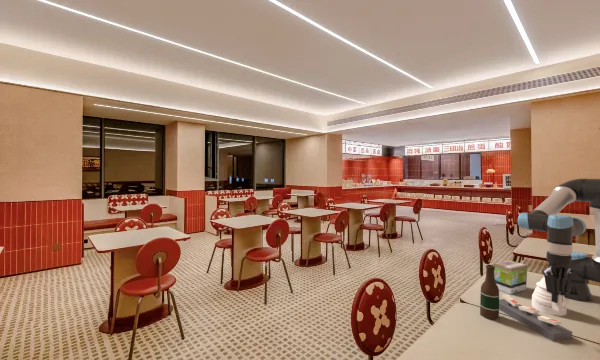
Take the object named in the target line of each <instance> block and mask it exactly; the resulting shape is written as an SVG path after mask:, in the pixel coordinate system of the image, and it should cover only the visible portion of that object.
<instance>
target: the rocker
mask: <svg viewBox="0 0 600 360" xmlns="http://www.w3.org/2000/svg"><path fill="white" fill-rule="evenodd" d="M501 299H505V300H506V301H508V302H509V303H510V304H511V305H513V306H514V307H515V306H520V305H521V303H519V302H518V301H517V300H516V299H514V298H513V297H511V295H510V294H508V293H506V294H501Z"/></svg>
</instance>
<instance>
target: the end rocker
mask: <svg viewBox="0 0 600 360" xmlns="http://www.w3.org/2000/svg"><path fill="white" fill-rule="evenodd" d="M538 320H541V321H544V322H547V323H550V324H553V325H561V324H562V323H561V320H559V319H555V318H552V317H548V316H545V315H541V316H538Z"/></svg>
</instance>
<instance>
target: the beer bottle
mask: <svg viewBox="0 0 600 360" xmlns="http://www.w3.org/2000/svg"><path fill="white" fill-rule="evenodd" d="M485 268H486V269H485V278H484V281H483V283H481V285H480V302H479V304H480V305H479V306H480V308H479V310H480V311H479V313H480V316H482V317H484V319H488V320H490V321H491V320H492V321H494V320H499V317H500V316H499V313H500V310H499V299H500V290H499V289H498V286H497V285H496V283H495V276H494V269H495V266H494V264H486V265H485Z"/></svg>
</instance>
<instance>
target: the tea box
mask: <svg viewBox="0 0 600 360" xmlns="http://www.w3.org/2000/svg"><path fill="white" fill-rule="evenodd" d="M493 266H495V269H494V276H495V283H496V285H497V286H498V289H499V292H500V291H501V292H502V291H503V293H505V294H508V295H513V294H515V293H519V292H523V291H526V290H527V281H528V264H524V263H522V262H517V261H513V260H511V259H507V260H505V261H504V260H503V261H498V262H495V263H493Z"/></svg>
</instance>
